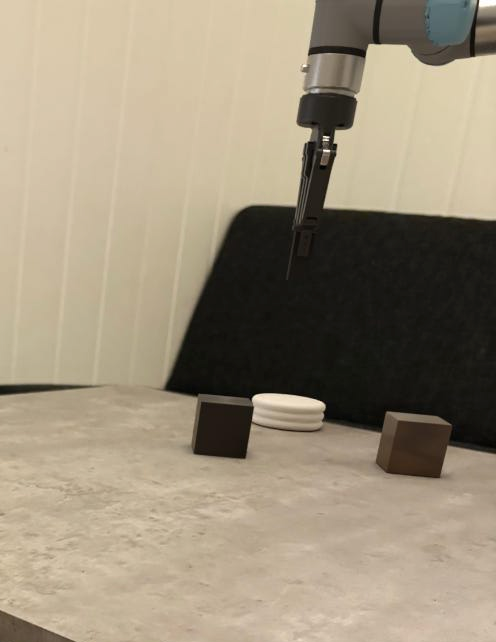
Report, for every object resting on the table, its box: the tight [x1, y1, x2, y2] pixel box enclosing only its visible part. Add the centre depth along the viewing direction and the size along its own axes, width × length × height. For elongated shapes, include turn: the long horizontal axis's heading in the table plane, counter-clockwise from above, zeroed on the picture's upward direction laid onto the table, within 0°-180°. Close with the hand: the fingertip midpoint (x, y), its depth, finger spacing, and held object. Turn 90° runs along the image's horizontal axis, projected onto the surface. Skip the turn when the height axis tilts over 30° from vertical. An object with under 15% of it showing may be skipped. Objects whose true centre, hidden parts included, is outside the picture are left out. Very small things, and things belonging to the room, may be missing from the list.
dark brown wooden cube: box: [375, 411, 453, 479], centre depth 117 cm, size 6×6×6 cm
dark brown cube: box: [191, 393, 254, 460], centre depth 119 cm, size 6×6×6 cm
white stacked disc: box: [251, 393, 327, 432], centre depth 140 cm, size 10×10×4 cm
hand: (296, 280), depth 144 cm, fingers closed
